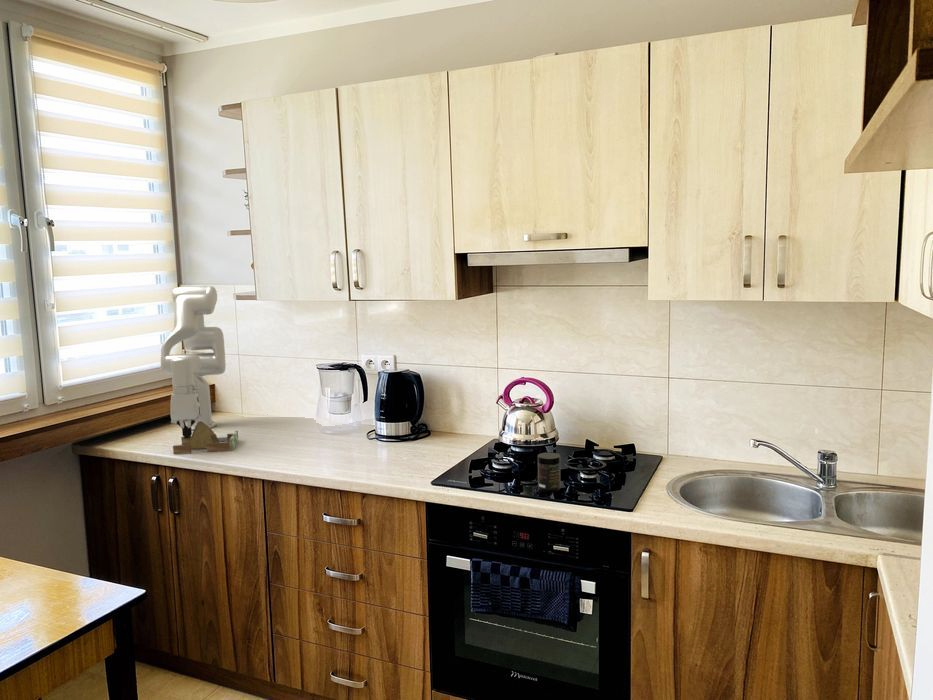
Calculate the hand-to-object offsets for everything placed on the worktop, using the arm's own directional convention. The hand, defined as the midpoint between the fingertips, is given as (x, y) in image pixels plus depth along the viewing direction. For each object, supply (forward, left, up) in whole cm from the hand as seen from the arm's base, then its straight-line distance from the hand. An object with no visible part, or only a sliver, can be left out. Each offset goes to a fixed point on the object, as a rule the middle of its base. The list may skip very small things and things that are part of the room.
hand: (187, 437), depth 269 cm
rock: (0, +6, -5) cm, 8 cm away
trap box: (-3, +7, -4) cm, 9 cm away
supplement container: (+75, +120, -5) cm, 142 cm away
